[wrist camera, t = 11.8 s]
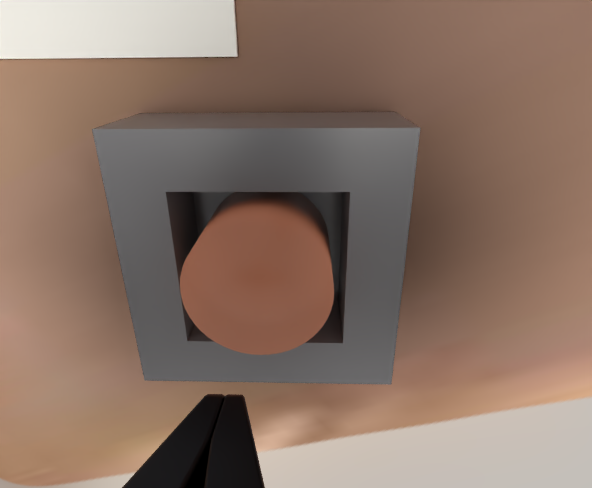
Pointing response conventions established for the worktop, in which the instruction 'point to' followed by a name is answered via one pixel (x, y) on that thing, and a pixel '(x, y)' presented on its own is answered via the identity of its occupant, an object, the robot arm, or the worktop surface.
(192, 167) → the button housing
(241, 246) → the button
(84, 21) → the paper sheet
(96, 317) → the worktop surface
